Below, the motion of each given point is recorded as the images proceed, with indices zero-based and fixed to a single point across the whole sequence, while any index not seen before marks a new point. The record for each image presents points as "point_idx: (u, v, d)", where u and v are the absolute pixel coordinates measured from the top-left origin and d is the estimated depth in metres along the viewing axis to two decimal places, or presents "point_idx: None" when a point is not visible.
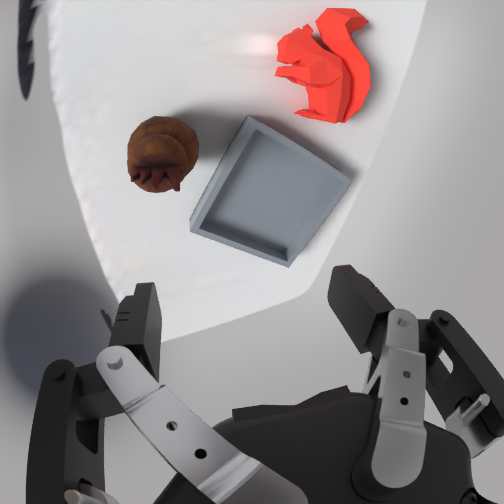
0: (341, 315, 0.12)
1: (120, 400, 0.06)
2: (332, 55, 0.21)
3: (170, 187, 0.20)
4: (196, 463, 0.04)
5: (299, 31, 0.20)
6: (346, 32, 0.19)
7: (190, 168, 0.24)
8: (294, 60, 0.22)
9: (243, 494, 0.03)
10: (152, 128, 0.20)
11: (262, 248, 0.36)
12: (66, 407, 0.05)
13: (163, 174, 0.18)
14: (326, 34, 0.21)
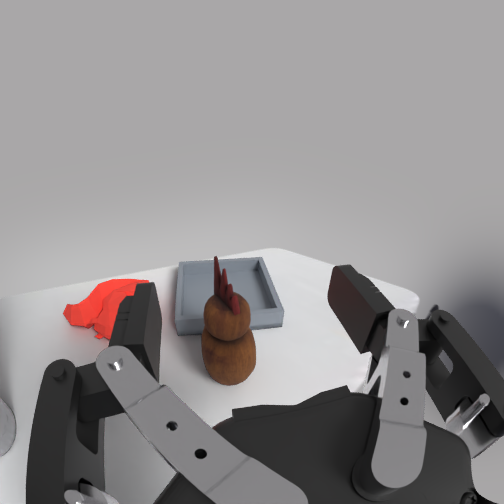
0: (341, 315, 0.12)
1: (120, 400, 0.06)
2: (104, 303, 0.34)
3: (234, 292, 0.27)
4: (196, 463, 0.04)
5: (97, 327, 0.31)
6: (83, 301, 0.33)
7: None
8: None
9: (243, 494, 0.03)
10: (210, 345, 0.26)
11: (262, 276, 0.45)
12: (66, 407, 0.05)
13: (220, 286, 0.25)
14: (91, 315, 0.33)
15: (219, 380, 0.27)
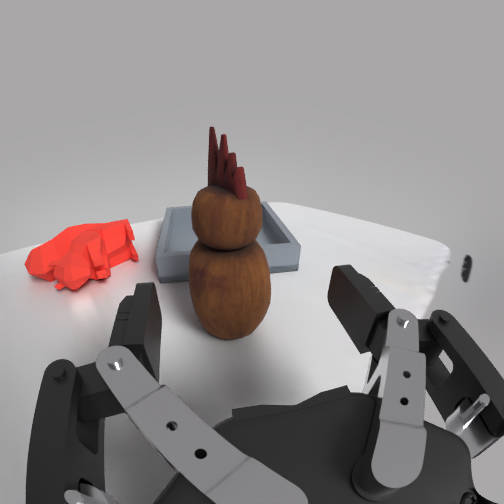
0: (341, 315, 0.12)
1: (119, 400, 0.06)
2: (70, 245, 0.26)
3: None
4: (196, 463, 0.04)
5: (56, 272, 0.23)
6: (46, 243, 0.24)
7: None
8: (85, 260, 0.24)
9: (243, 494, 0.03)
10: (200, 262, 0.17)
11: (268, 219, 0.37)
12: (66, 407, 0.05)
13: (218, 167, 0.17)
14: (53, 261, 0.24)
15: (215, 327, 0.18)
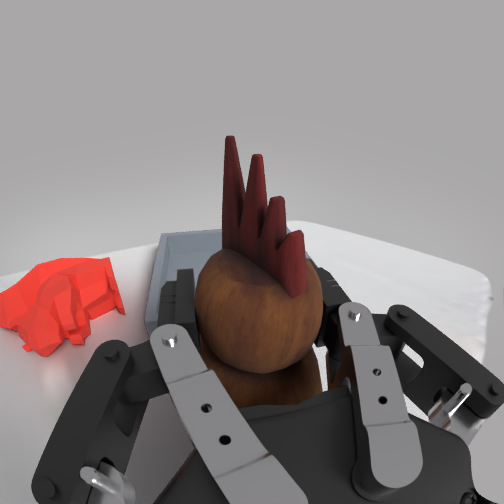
0: None
1: (163, 374, 0.06)
2: (37, 293, 0.18)
3: None
4: (217, 448, 0.04)
5: (20, 333, 0.15)
6: (10, 289, 0.17)
7: None
8: (53, 320, 0.16)
9: (243, 494, 0.03)
10: None
11: None
12: (110, 388, 0.06)
13: (243, 218, 0.09)
14: (20, 312, 0.17)
15: None
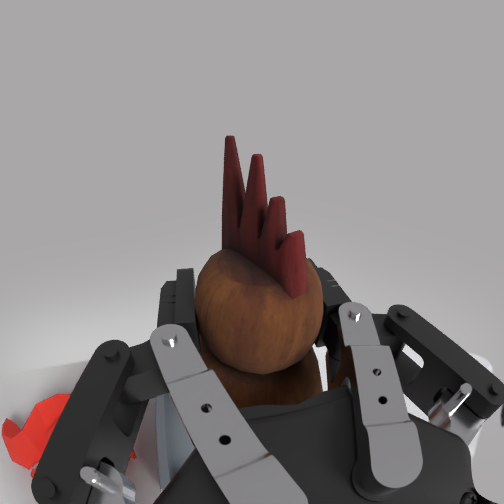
0: None
1: (164, 374, 0.06)
2: (46, 443, 0.13)
3: None
4: (217, 448, 0.04)
5: None
6: (17, 435, 0.12)
7: None
8: None
9: (243, 494, 0.03)
10: None
11: None
12: (110, 388, 0.06)
13: (243, 218, 0.09)
14: (34, 455, 0.12)
15: None
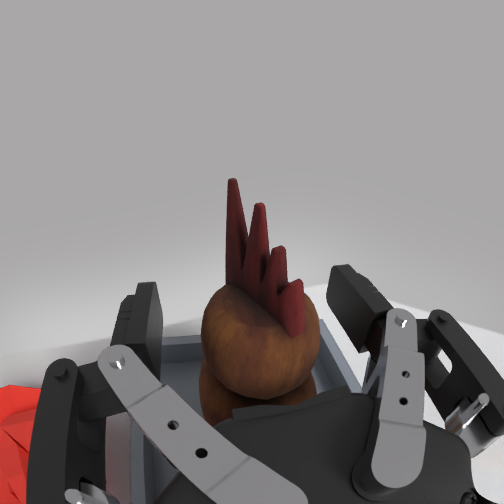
0: (339, 315, 0.12)
1: (121, 399, 0.06)
2: None
3: None
4: (196, 462, 0.04)
5: None
6: None
7: None
8: (16, 501, 0.05)
9: (243, 494, 0.03)
10: (220, 407, 0.10)
11: (332, 370, 0.18)
12: (67, 406, 0.05)
13: (246, 260, 0.09)
14: None
15: None
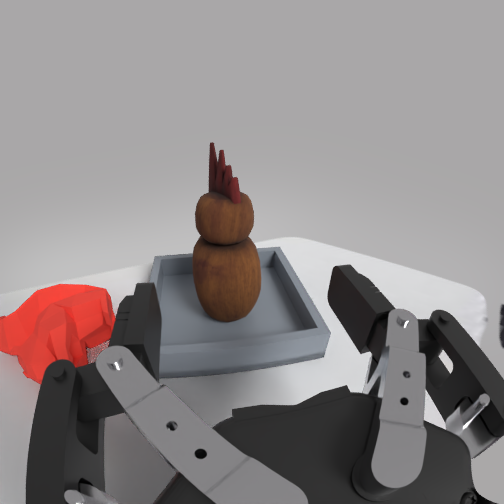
0: (341, 315, 0.12)
1: (119, 400, 0.06)
2: (36, 322, 0.18)
3: None
4: (196, 463, 0.04)
5: (20, 362, 0.15)
6: (10, 316, 0.17)
7: None
8: (49, 353, 0.16)
9: (243, 494, 0.03)
10: (202, 255, 0.21)
11: (283, 275, 0.29)
12: (66, 407, 0.05)
13: (217, 176, 0.21)
14: (20, 339, 0.17)
15: (214, 310, 0.22)
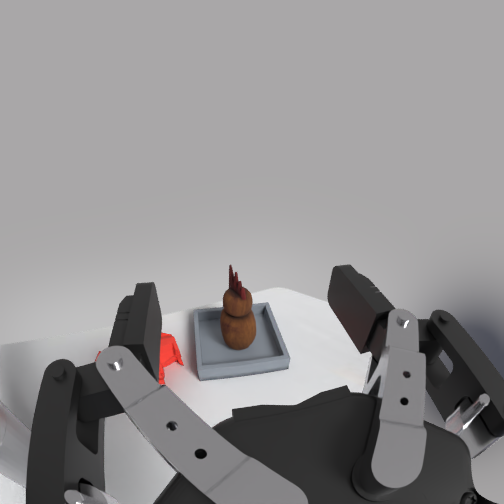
0: (341, 315, 0.12)
1: (120, 400, 0.06)
2: None
3: (241, 287, 0.43)
4: (196, 463, 0.04)
5: None
6: None
7: None
8: None
9: (243, 494, 0.03)
10: (227, 321, 0.42)
11: (269, 322, 0.50)
12: (66, 407, 0.05)
13: (233, 283, 0.42)
14: None
15: (232, 345, 0.43)
